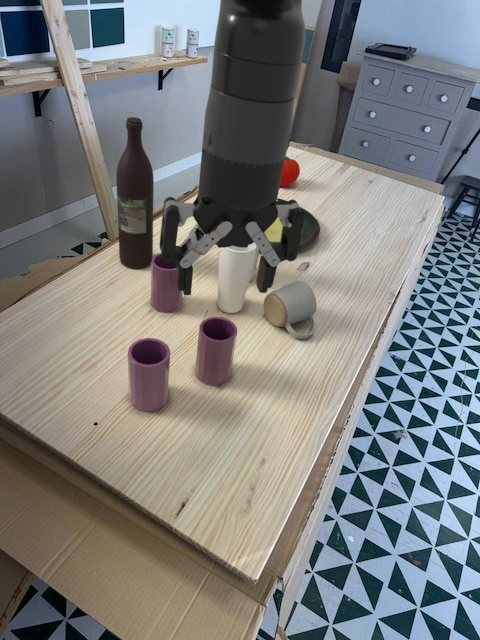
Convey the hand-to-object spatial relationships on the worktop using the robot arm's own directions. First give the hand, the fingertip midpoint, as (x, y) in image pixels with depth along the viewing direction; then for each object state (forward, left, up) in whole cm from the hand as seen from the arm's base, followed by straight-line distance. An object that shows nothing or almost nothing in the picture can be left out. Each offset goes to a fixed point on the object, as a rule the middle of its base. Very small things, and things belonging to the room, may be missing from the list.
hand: (224, 289), depth 52 cm
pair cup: (-6, +10, -28) cm, 30 cm away
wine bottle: (+2, +48, -28) cm, 56 cm away
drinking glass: (+16, +28, -28) cm, 43 cm away
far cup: (+4, +32, -28) cm, 43 cm away
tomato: (+55, +80, -28) cm, 101 cm away
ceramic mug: (+26, +20, -28) cm, 43 cm away
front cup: (+6, +12, -28) cm, 31 cm away
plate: (+38, +56, -28) cm, 74 cm away
